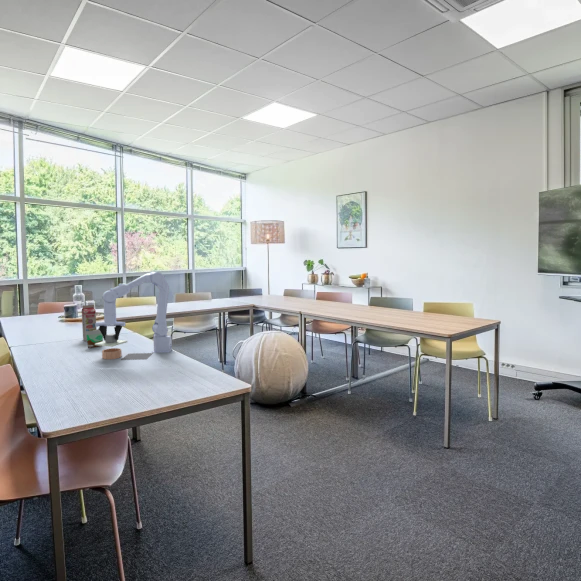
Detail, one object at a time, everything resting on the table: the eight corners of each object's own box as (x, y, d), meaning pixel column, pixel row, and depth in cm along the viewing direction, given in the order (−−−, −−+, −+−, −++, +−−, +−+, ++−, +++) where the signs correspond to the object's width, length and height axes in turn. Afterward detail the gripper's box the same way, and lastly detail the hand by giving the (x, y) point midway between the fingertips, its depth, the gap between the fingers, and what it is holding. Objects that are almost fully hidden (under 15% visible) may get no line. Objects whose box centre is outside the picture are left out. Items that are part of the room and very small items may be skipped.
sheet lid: (127, 342, 218) (127, 333, 217) (111, 346, 207) (111, 337, 207) (110, 340, 221) (110, 331, 221) (94, 345, 211) (94, 335, 211)
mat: (153, 354, 223) (153, 353, 223) (146, 360, 210) (146, 359, 210) (128, 354, 222) (128, 353, 222) (120, 360, 209) (120, 359, 209)
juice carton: (83, 339, 260) (81, 305, 258) (94, 338, 264) (92, 304, 262) (85, 341, 254) (83, 306, 252) (97, 340, 258) (95, 305, 256)
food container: (95, 348, 235) (95, 331, 234) (86, 348, 236) (85, 331, 236) (109, 344, 247) (108, 327, 246) (100, 343, 249) (99, 327, 248)
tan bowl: (123, 355, 220) (123, 348, 220) (117, 359, 211) (117, 352, 211) (106, 355, 219) (106, 348, 219) (99, 360, 210) (99, 352, 210)
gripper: (127, 312, 217) (128, 338, 219) (98, 313, 217) (99, 338, 218) (122, 314, 210) (123, 341, 212) (93, 315, 210) (94, 341, 211)
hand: (111, 340), depth 214 cm, fingers closed on sheet lid, 5 cm apart
